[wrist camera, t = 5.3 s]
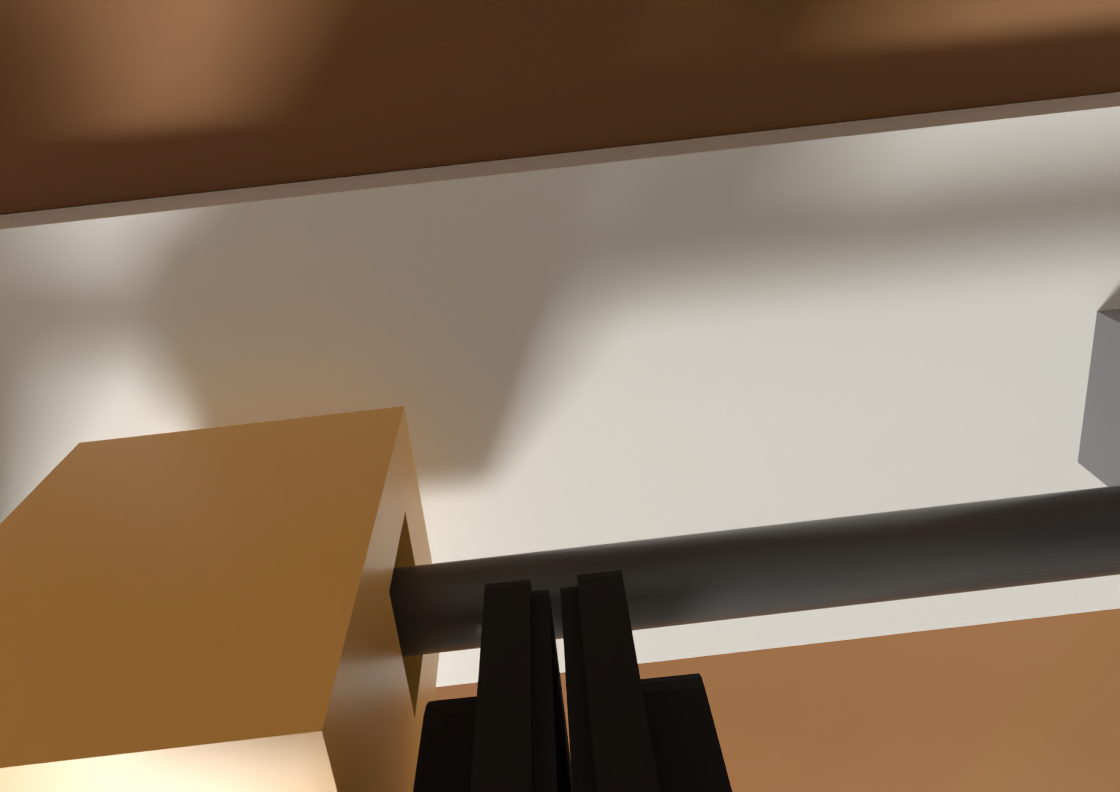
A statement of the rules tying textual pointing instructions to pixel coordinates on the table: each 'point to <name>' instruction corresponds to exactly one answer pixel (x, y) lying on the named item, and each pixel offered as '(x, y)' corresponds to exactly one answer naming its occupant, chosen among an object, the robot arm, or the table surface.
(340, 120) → the table surface
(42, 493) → the sleeve
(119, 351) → the board
